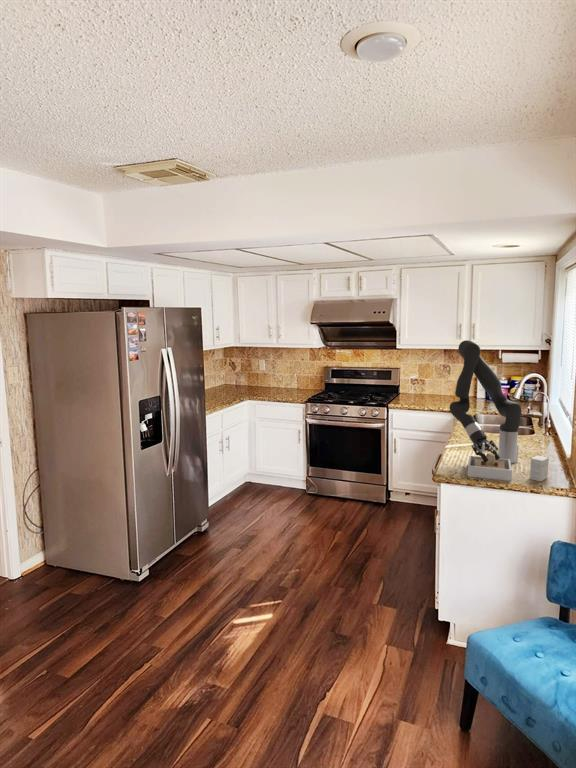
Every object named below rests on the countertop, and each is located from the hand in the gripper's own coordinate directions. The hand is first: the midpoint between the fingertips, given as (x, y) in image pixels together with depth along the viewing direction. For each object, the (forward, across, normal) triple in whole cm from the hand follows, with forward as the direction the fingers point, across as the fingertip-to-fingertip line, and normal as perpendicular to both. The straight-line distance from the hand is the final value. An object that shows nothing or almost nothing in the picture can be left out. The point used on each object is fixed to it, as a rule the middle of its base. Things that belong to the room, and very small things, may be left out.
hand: (492, 460), depth 260 cm
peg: (+4, 0, +6) cm, 7 cm away
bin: (+4, 0, +6) cm, 7 cm away
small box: (+17, +14, -6) cm, 22 cm away
